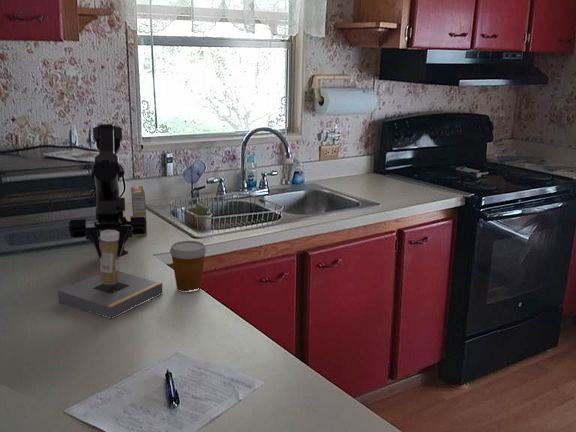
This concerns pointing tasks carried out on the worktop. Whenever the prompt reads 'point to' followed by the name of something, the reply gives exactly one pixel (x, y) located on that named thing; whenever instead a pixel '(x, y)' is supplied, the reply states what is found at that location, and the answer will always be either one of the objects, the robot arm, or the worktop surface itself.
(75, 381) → the worktop surface
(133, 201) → the candy box
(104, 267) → the amber pill bottle
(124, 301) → the socket plate
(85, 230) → the robot arm
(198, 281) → the disposable coffee cup
